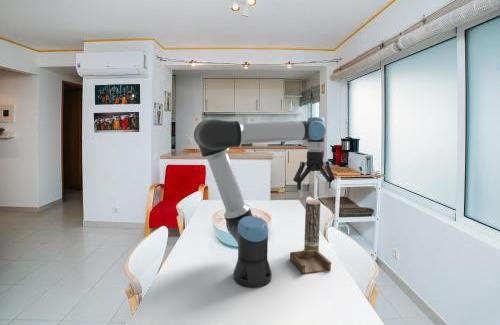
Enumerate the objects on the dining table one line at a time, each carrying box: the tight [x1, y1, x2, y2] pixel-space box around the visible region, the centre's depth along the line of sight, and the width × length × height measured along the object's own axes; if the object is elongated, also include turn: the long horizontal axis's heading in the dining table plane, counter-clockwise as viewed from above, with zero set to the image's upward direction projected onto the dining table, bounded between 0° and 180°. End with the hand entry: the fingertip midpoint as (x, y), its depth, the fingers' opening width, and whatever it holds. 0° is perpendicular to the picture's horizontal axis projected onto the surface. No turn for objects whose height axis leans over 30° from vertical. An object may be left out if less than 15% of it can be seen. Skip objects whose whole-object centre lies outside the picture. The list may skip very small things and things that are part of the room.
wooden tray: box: [289, 250, 332, 275], centre depth 124 cm, size 13×13×4 cm
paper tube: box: [303, 199, 321, 252], centre depth 136 cm, size 7×7×25 cm
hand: (313, 195), depth 134 cm, fingers open, 13 cm apart
